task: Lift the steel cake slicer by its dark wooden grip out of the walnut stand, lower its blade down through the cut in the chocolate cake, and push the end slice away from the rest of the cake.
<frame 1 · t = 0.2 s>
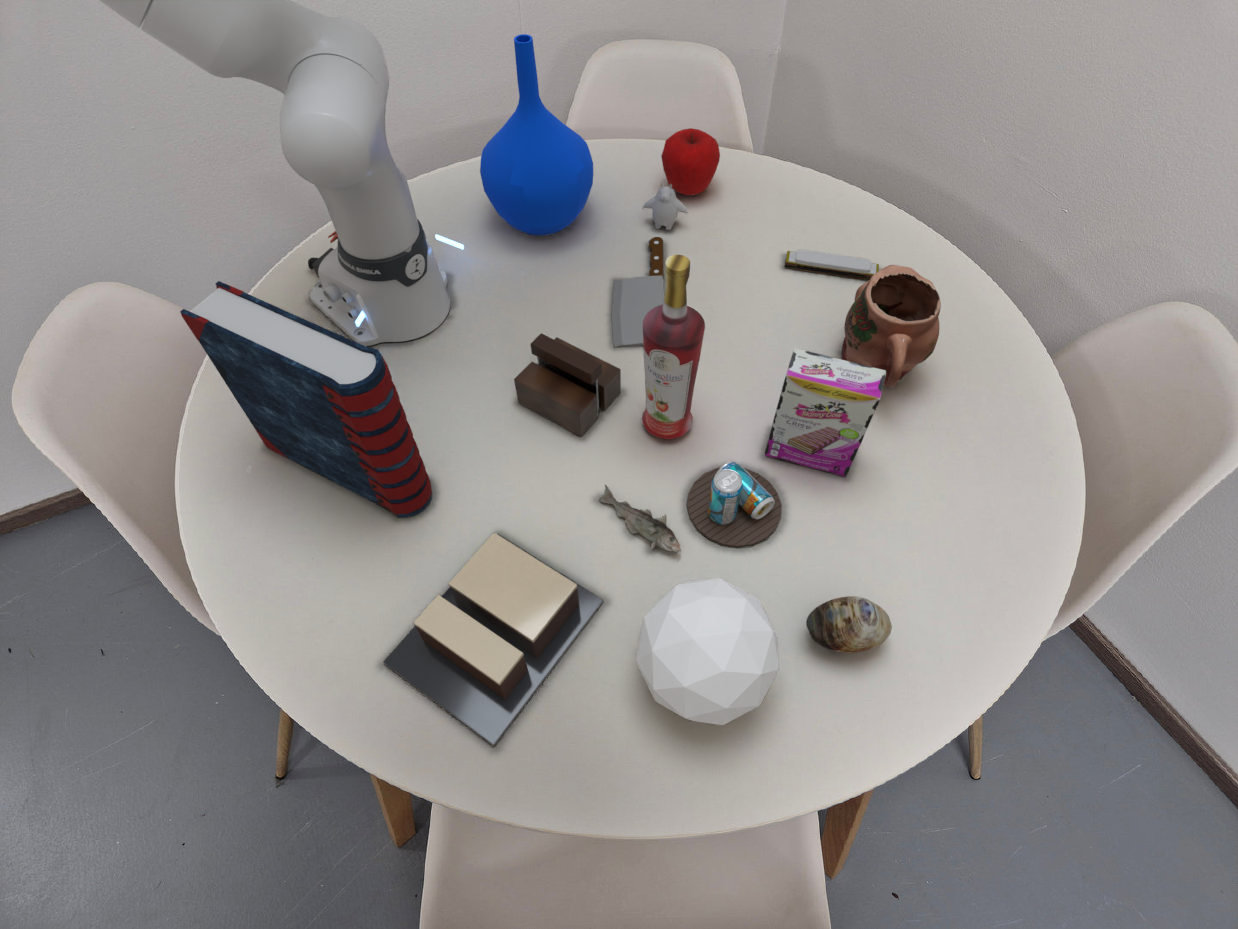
vase: (542, 218, 132), on the table
seashell: (840, 639, 87), on the table
candy bar box: (808, 455, 102), on the table
cake slicer: (569, 397, 108), on the table
book: (352, 470, 101), on the table
apple: (688, 191, 136), on the table
geometric shape: (701, 674, 85), on the table
fish: (641, 523, 96), on the table
drink cans on coaster: (733, 507, 97), on the table
harmonica: (830, 270, 123), on the table
decorative planter: (874, 371, 111), on the table
cake: (496, 632, 88), on the table
figurine: (664, 222, 131), on the table
slicer stand: (569, 397, 108), on the table
cake slice: (475, 655, 85), point 1 cm above the table, touching cake
kitchen cleaver: (644, 292, 121), on the table
liquor: (666, 425, 105), on the table
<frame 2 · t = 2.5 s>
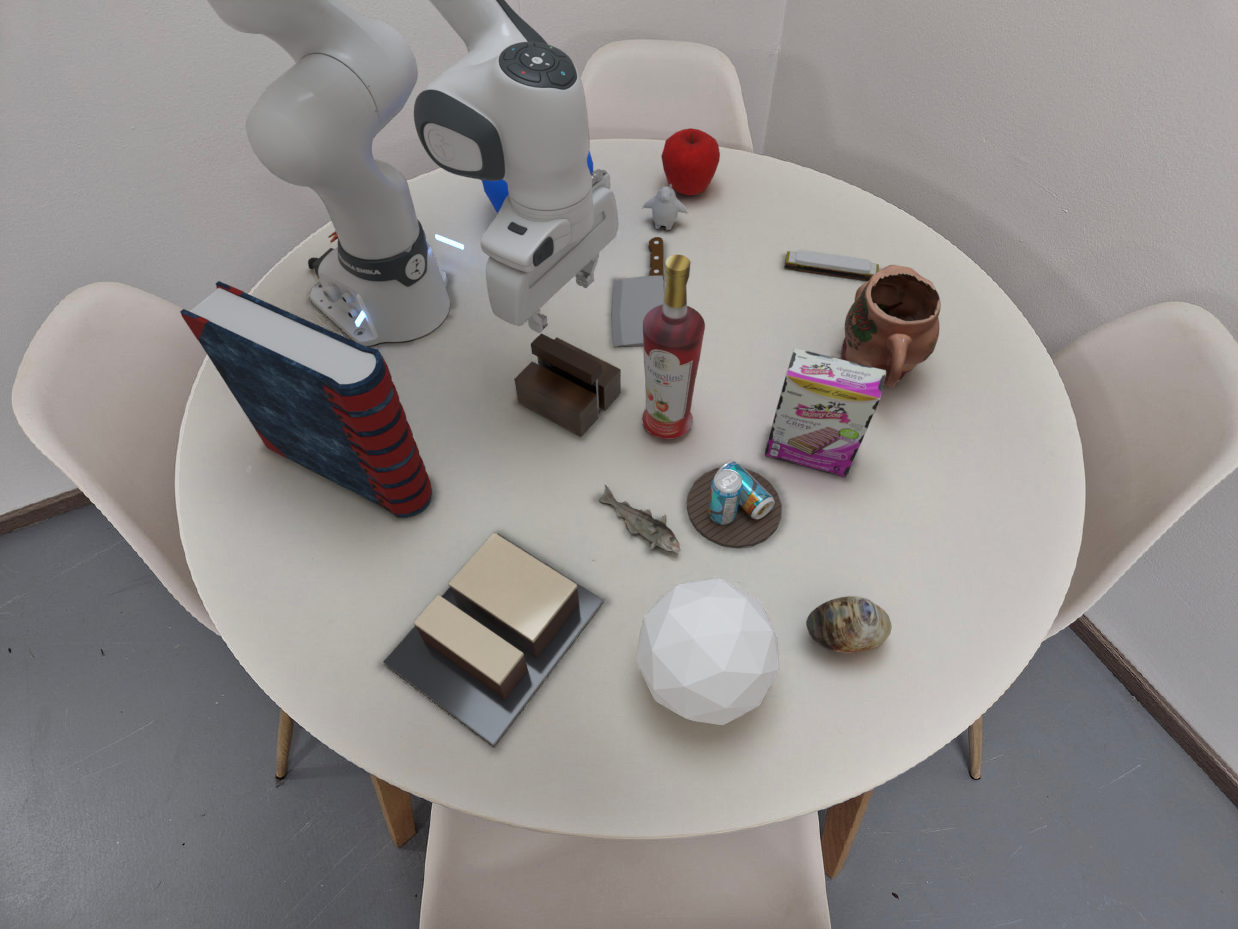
hand: (562, 305, 94), 18 cm above the table, tool pointing down, fingers open, 8 cm apart
nothing on the table moved.
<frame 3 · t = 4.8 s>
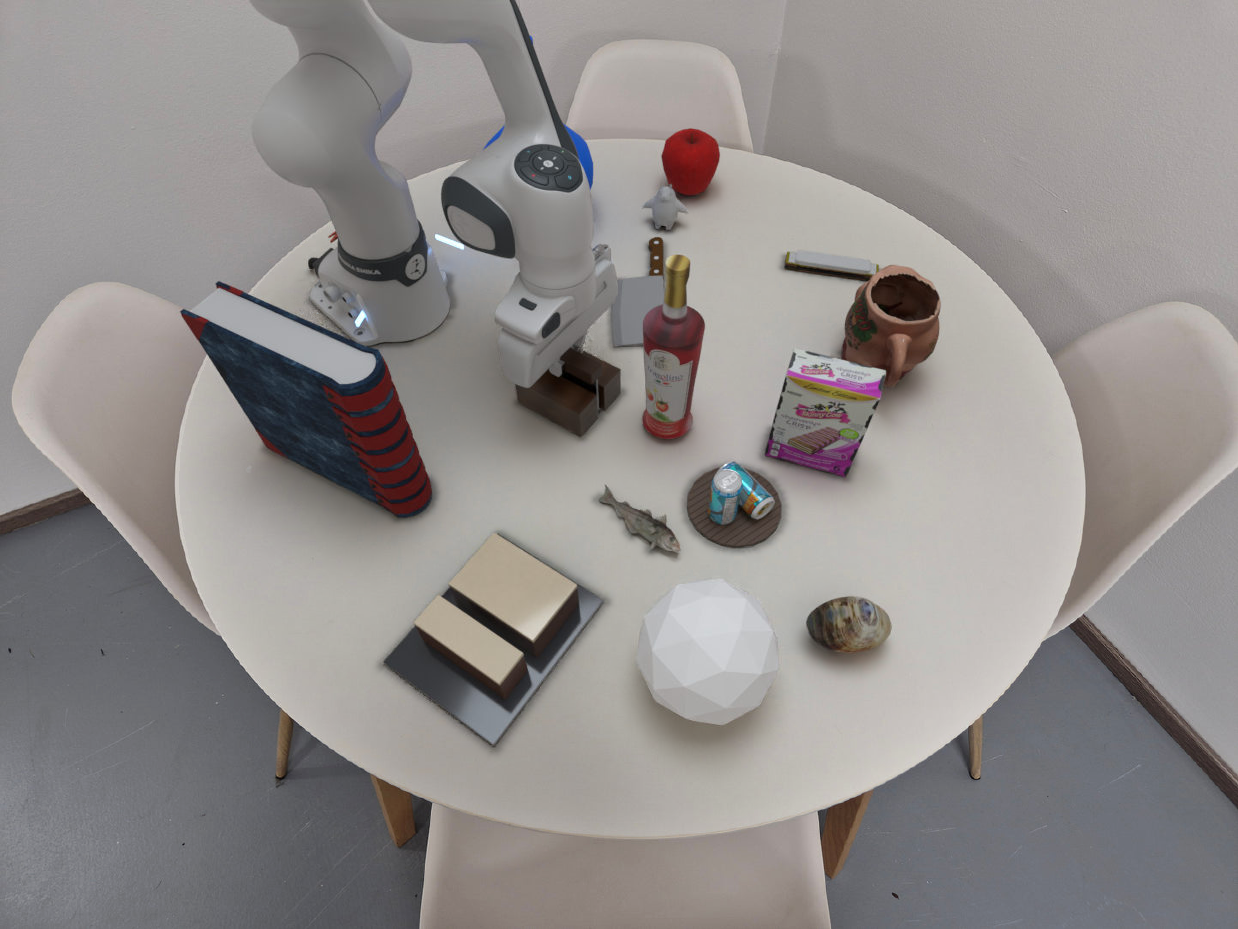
hand: (566, 363, 102), 7 cm above the table, tool pointing down, fingers closed on cake slicer, 2 cm apart
cake slicer: (569, 397, 108), on the table, touching gripper
everything else where it was.
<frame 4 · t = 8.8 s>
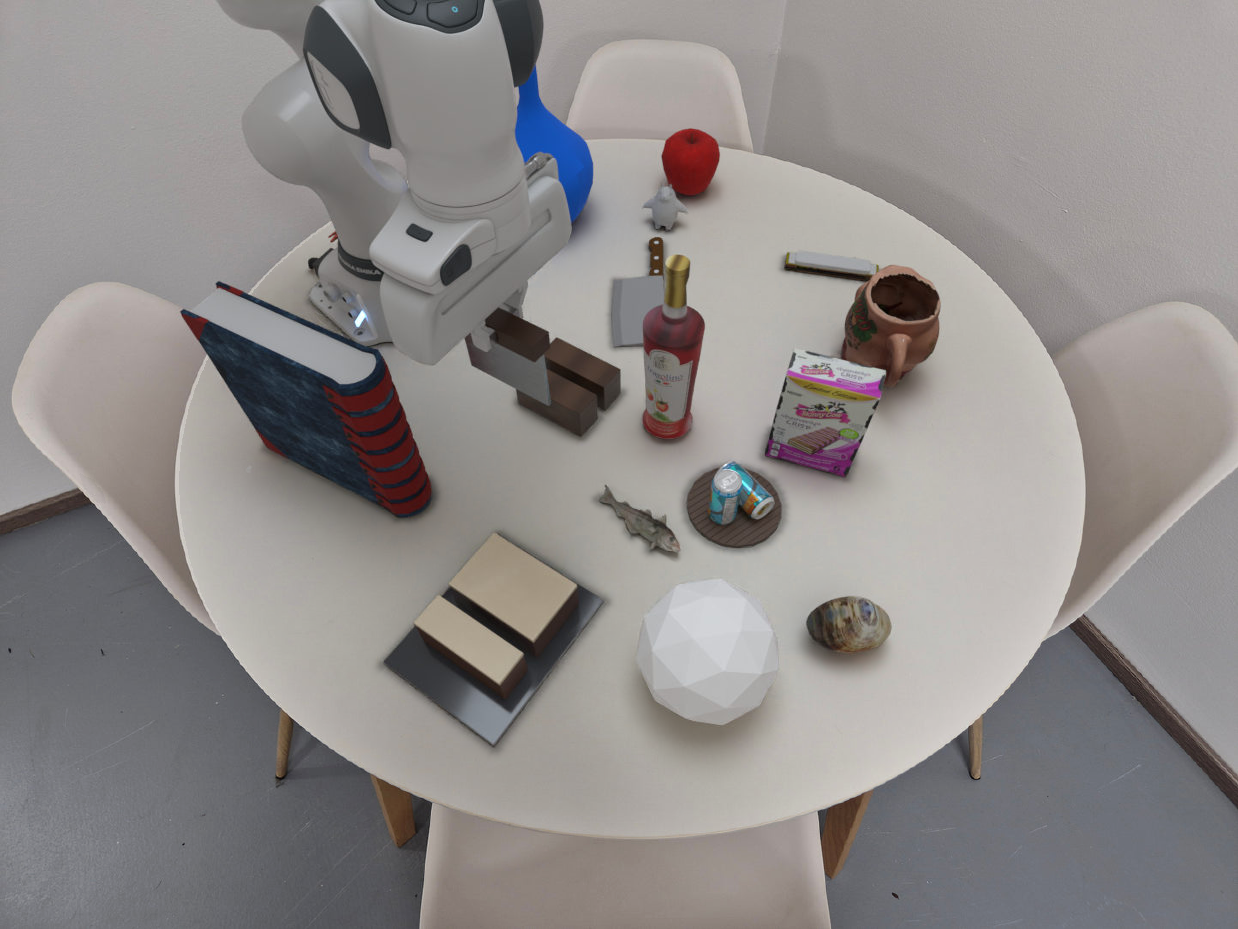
hand: (499, 333, 71), 32 cm above the table, tool pointing down, fingers closed on cake slicer, 2 cm apart
cake slicer: (510, 384, 77), point 25 cm above the table, touching gripper
everything else where it was.
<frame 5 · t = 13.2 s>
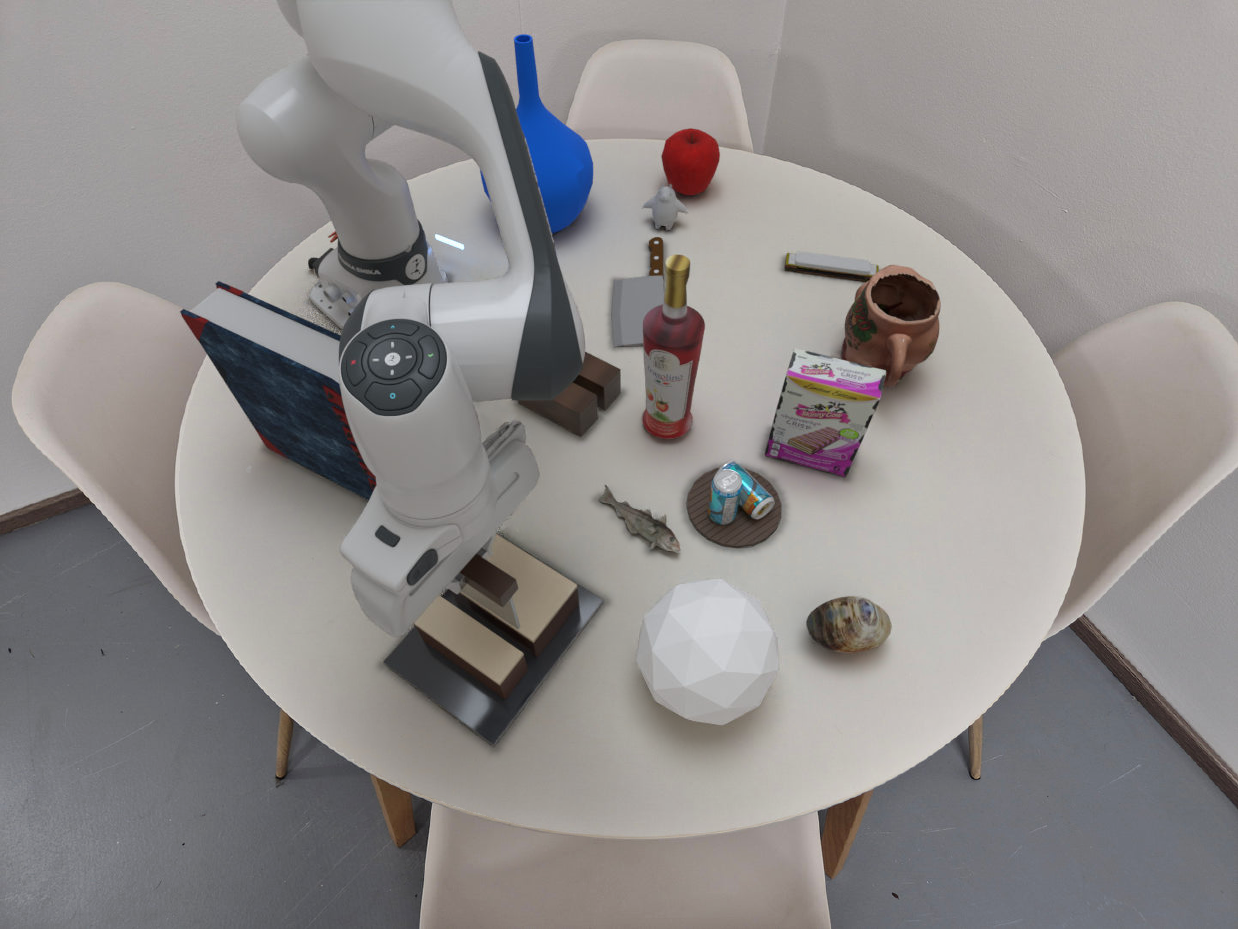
hand: (469, 571, 74), 16 cm above the table, tool pointing down, fingers closed on cake slicer, 2 cm apart
cake slicer: (482, 603, 80), point 9 cm above the table, touching gripper
everything else where it was.
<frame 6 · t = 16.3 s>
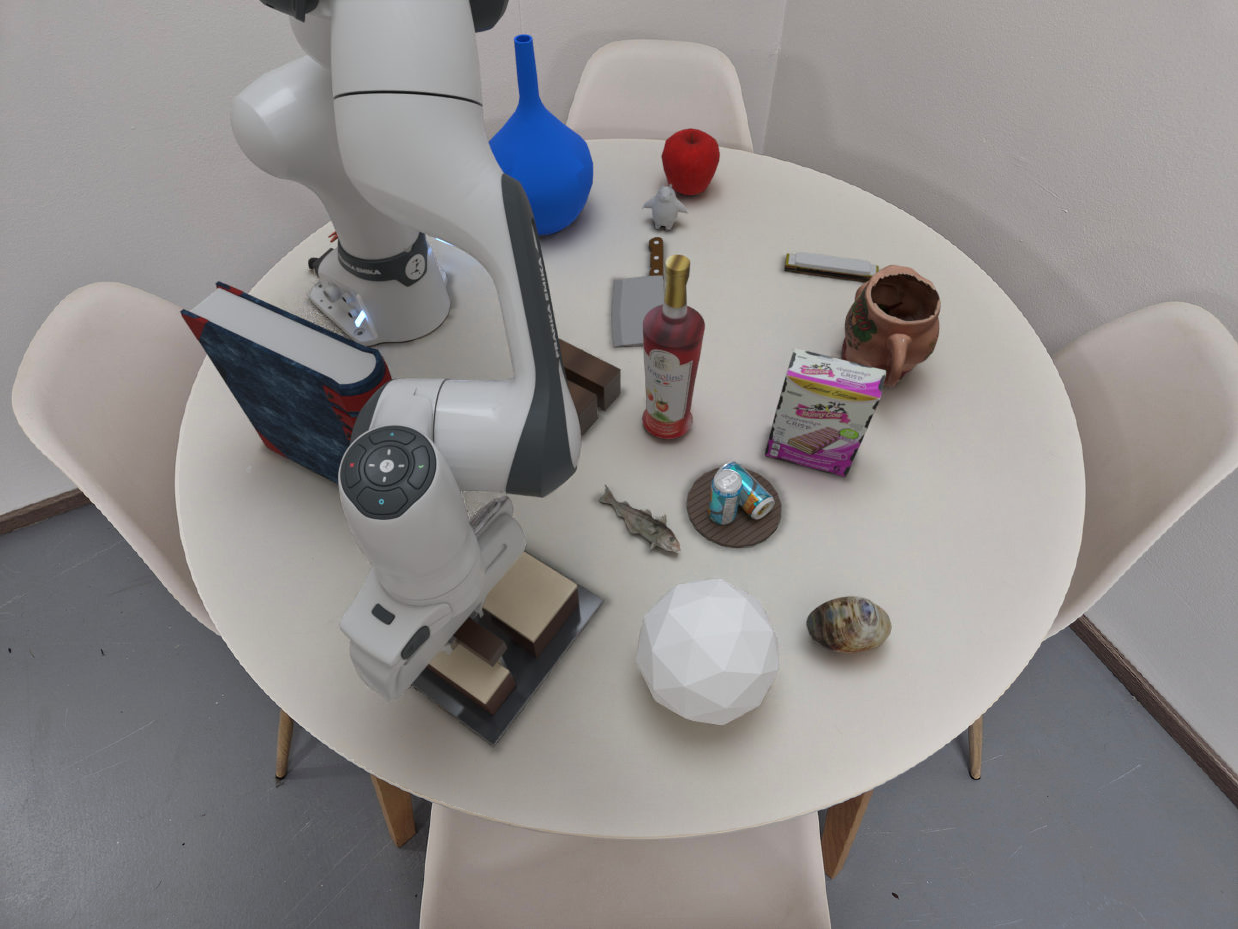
hand: (460, 631, 79), 8 cm above the table, tool pointing down, fingers closed on cake slicer, 2 cm apart
cake slicer: (476, 653, 85), point 1 cm above the table, touching cake slice, gripper
cake slice: (462, 669, 84), point 1 cm above the table, touching cake, cake slicer
everything else where it was.
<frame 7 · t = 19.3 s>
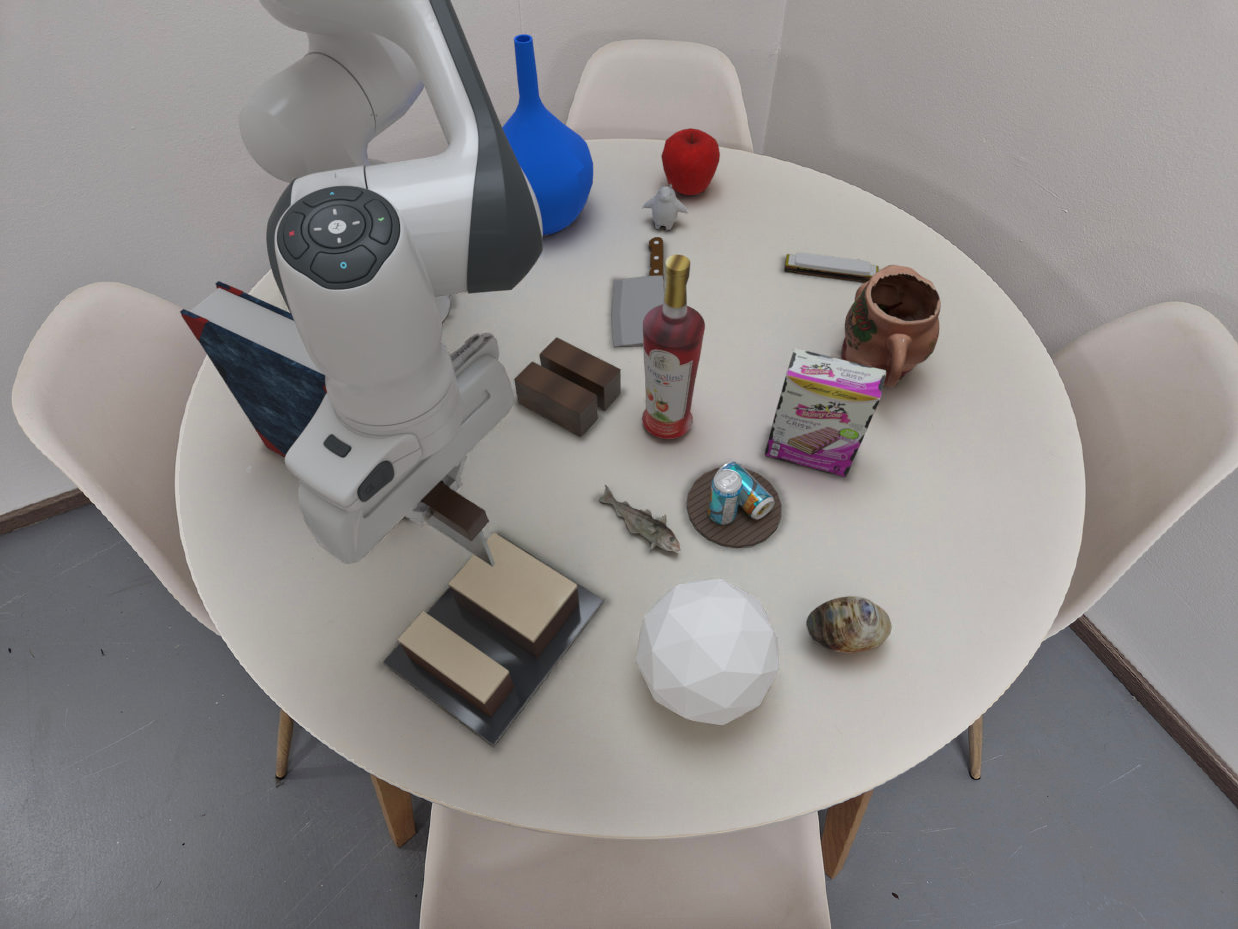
hand: (435, 502, 68), 25 cm above the table, tool pointing down, fingers closed on cake slicer, 2 cm apart
cake slicer: (454, 539, 74), point 18 cm above the table, touching gripper
cake slice: (460, 671, 84), point 1 cm above the table, touching cake
everything else where it was.
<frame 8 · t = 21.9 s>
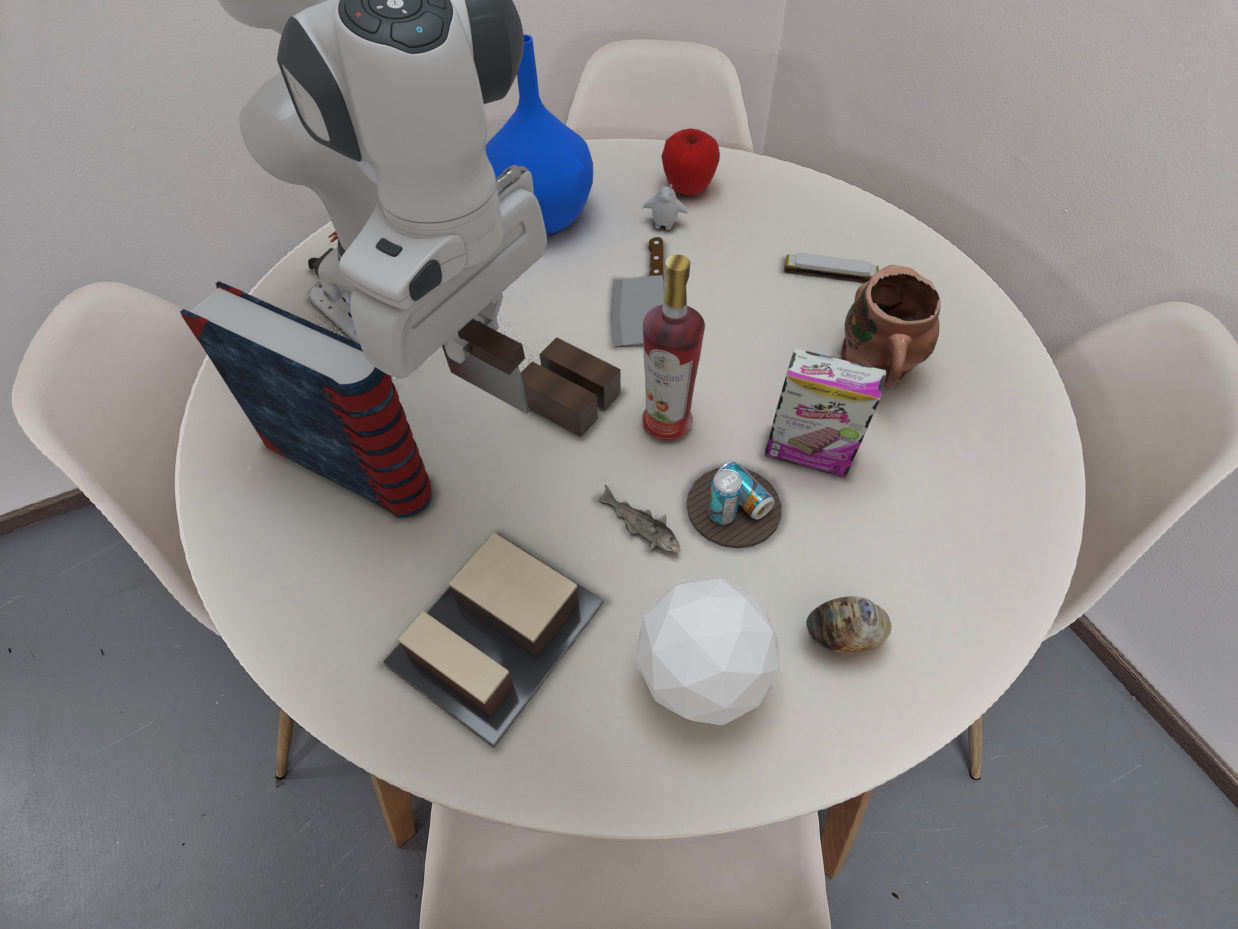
hand: (473, 344, 71), 31 cm above the table, tool pointing down, fingers closed on cake slicer, 2 cm apart
cake slicer: (489, 391, 77), point 24 cm above the table, touching gripper
everything else where it was.
at the end: cake slice moved 2.4 cm from its start; cake slice 1.3 cm from the target spot on the cake, point 0.6 cm above the cake's base; the gripper is holding cake slicer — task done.
